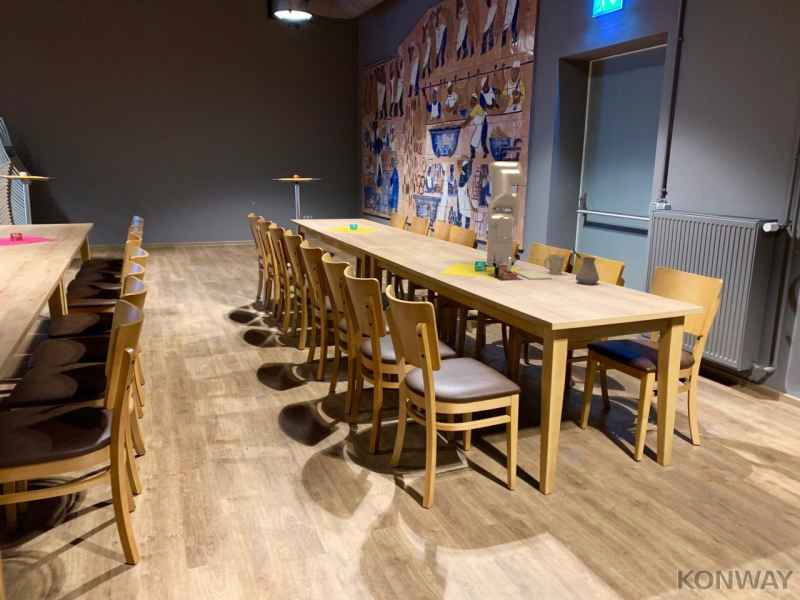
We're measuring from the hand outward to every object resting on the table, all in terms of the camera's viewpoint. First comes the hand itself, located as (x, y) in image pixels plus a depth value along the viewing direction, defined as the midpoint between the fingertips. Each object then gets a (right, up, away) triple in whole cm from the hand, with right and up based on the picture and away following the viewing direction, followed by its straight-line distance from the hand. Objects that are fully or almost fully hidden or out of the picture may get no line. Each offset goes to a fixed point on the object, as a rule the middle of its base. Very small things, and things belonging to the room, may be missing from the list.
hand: (502, 274), depth 325 cm
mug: (+30, +1, +16) cm, 34 cm away
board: (+15, -2, 0) cm, 16 cm away
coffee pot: (+40, -4, -6) cm, 40 cm away
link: (+1, -1, -4) cm, 5 cm away
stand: (+1, -2, -3) cm, 4 cm away
